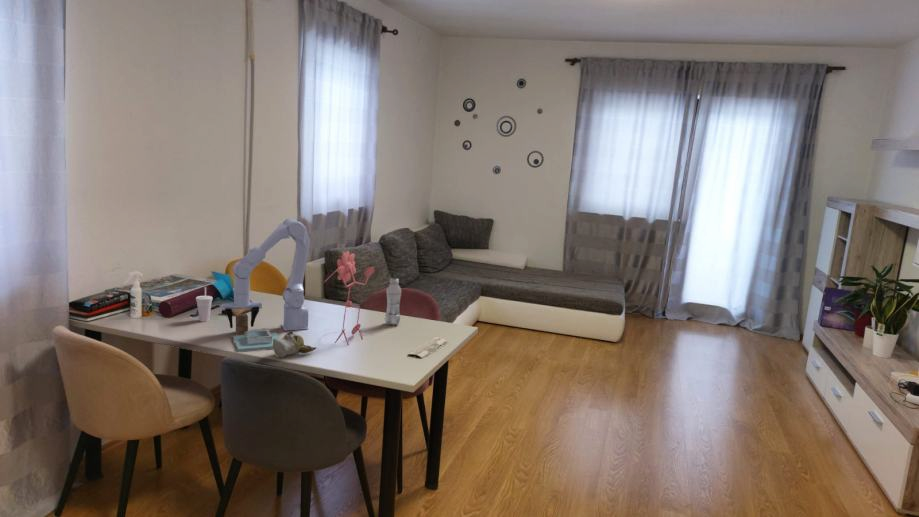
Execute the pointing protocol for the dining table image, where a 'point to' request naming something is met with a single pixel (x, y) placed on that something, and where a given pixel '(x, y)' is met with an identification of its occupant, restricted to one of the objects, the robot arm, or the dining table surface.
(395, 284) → the plastic bottle
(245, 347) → the board
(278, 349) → the ceramic sculpture
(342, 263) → the figurine
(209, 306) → the smoothie
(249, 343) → the socket
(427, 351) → the newspaper
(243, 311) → the sunglasses case
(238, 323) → the peg
